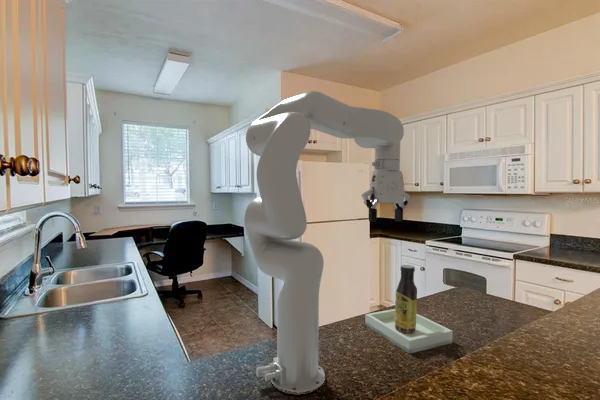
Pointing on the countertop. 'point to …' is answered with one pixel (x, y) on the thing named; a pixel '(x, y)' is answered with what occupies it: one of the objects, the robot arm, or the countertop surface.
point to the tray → (419, 340)
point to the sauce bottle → (406, 301)
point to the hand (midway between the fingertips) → (385, 221)
